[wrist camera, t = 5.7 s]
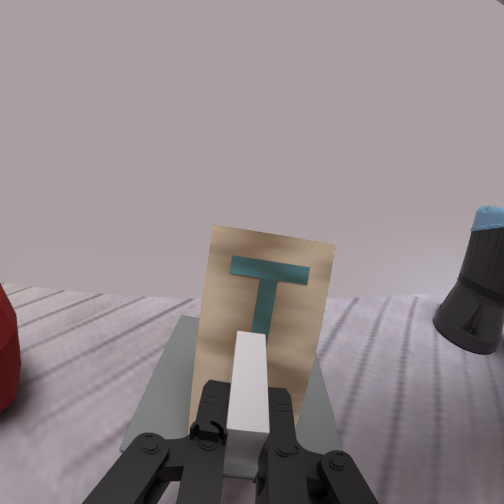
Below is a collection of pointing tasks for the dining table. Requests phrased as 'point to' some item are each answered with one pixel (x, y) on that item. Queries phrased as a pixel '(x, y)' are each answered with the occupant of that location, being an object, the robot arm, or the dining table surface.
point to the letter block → (262, 307)
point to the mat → (179, 398)
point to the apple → (8, 352)
